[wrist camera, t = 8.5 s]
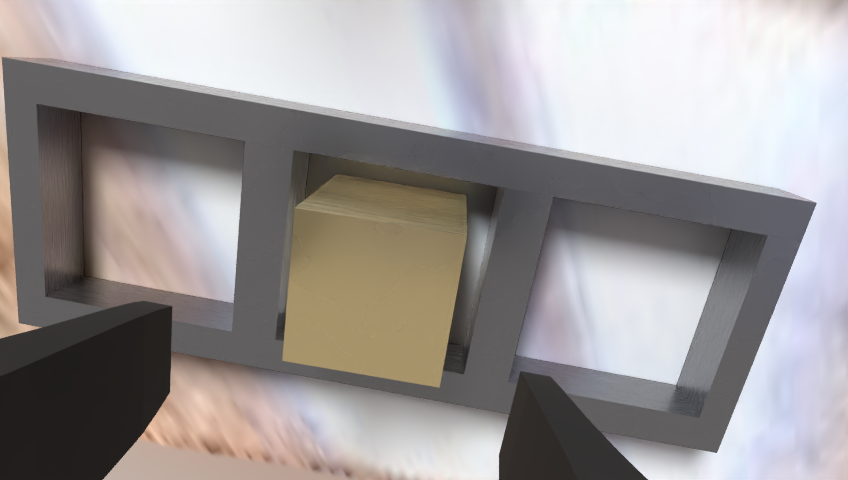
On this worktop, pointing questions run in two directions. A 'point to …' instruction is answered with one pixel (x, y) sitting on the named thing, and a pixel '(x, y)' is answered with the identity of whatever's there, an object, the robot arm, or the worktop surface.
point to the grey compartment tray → (414, 151)
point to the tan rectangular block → (375, 278)
